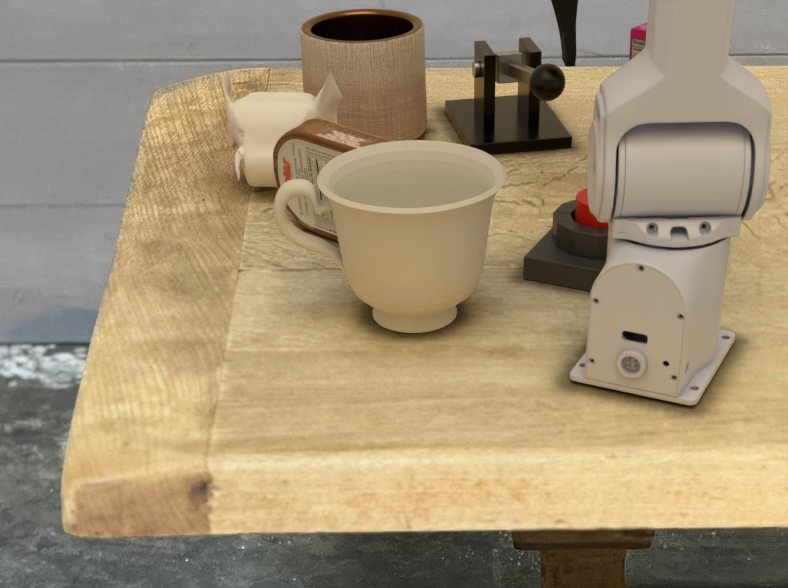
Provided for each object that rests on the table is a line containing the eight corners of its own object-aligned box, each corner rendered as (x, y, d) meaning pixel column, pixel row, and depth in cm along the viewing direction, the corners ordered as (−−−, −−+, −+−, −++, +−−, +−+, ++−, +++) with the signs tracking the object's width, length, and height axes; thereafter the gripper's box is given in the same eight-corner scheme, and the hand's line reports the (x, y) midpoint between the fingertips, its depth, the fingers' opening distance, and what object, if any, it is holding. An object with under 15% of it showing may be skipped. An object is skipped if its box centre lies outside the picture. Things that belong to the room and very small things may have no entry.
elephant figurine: (208, 210, 105) (195, 99, 100) (244, 156, 115) (233, 52, 110) (326, 213, 104) (319, 101, 99) (352, 158, 114) (347, 54, 109)
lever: (569, 101, 102) (569, 63, 101) (534, 104, 101) (533, 66, 100) (519, 81, 118) (518, 48, 116) (488, 83, 117) (487, 50, 116)
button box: (631, 299, 90) (635, 251, 88) (522, 279, 93) (524, 232, 91) (674, 243, 98) (679, 198, 96) (572, 226, 101) (574, 182, 99)
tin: (444, 261, 96) (443, 149, 91) (415, 276, 94) (413, 162, 90) (299, 210, 105) (291, 105, 100) (270, 223, 103) (261, 116, 98)
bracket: (571, 147, 114) (576, 62, 110) (469, 156, 113) (469, 70, 109) (539, 103, 124) (542, 23, 120) (444, 110, 123) (444, 30, 119)
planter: (301, 157, 114) (293, 44, 109) (310, 115, 123) (303, 9, 118) (426, 155, 114) (425, 41, 108) (427, 112, 123) (425, 6, 117)
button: (621, 235, 92) (622, 211, 91) (566, 226, 93) (567, 202, 92) (639, 214, 94) (641, 190, 93) (586, 205, 96) (587, 182, 95)
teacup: (284, 282, 94) (272, 145, 88) (492, 271, 95) (494, 134, 89) (282, 364, 84) (268, 217, 79) (514, 352, 85) (518, 204, 79)
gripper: (720, -150, 96) (701, 41, 104) (521, -142, 96) (517, 49, 103) (746, -132, 90) (723, 68, 98) (534, -124, 90) (528, 77, 98)
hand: (618, 60), depth 100 cm, fingers open, 7 cm apart
